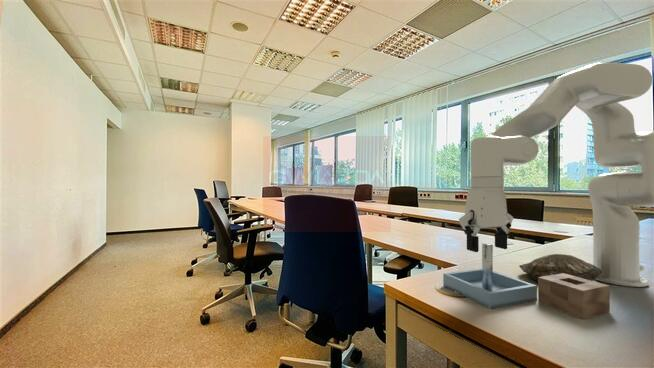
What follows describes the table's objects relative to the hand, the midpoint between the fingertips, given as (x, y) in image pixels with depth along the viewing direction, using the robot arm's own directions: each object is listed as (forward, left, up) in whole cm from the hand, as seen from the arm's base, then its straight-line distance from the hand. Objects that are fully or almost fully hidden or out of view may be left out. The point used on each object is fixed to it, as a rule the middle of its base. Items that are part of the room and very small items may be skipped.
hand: (487, 249), depth 73 cm
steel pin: (0, 0, -11) cm, 11 cm away
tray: (0, 0, -11) cm, 11 cm away
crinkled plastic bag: (-28, -1, -12) cm, 30 cm away
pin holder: (-11, +13, -11) cm, 20 cm away
